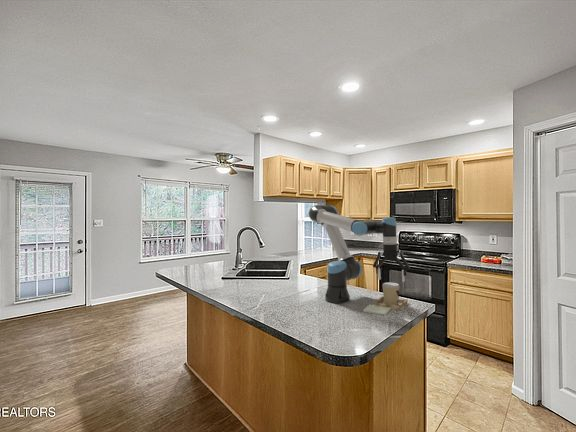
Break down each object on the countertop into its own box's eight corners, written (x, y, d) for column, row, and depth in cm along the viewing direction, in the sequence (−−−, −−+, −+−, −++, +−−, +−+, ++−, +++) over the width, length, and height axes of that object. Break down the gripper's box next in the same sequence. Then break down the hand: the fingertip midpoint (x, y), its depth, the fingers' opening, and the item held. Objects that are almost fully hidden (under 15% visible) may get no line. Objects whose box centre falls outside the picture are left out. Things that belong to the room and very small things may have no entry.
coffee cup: (401, 307, 162) (400, 286, 163) (383, 306, 164) (383, 285, 164) (398, 302, 172) (397, 282, 172) (381, 302, 174) (381, 282, 174)
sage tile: (362, 311, 157) (362, 310, 157) (369, 305, 167) (369, 304, 167) (385, 315, 150) (385, 313, 150) (391, 309, 160) (391, 307, 160)
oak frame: (374, 306, 166) (374, 302, 166) (381, 299, 178) (381, 296, 178) (401, 310, 158) (401, 306, 158) (407, 303, 170) (407, 299, 170)
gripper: (366, 243, 172) (367, 279, 172) (411, 244, 158) (413, 283, 158) (370, 242, 178) (371, 277, 178) (414, 243, 164) (415, 281, 164)
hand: (391, 280), depth 168 cm, fingers open, 13 cm apart
